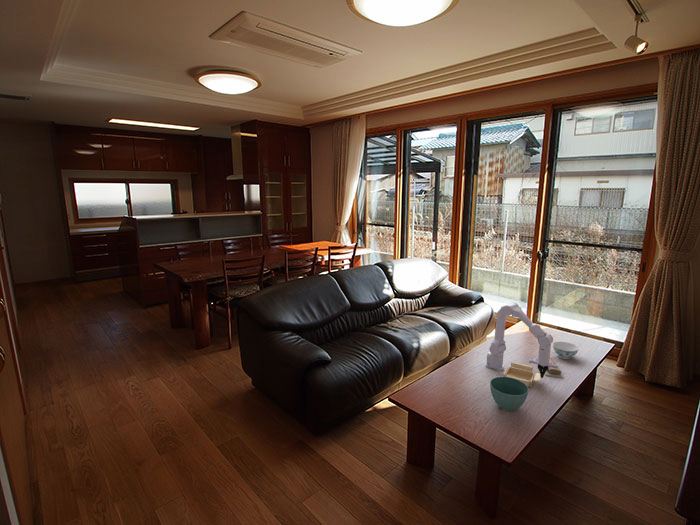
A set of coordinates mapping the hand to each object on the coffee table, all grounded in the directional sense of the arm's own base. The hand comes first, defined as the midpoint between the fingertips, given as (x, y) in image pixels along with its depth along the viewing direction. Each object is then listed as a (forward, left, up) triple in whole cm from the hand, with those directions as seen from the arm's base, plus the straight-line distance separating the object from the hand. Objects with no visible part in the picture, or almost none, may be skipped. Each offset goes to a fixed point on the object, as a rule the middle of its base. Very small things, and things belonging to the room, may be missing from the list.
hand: (542, 377), depth 210 cm
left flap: (-12, +7, -1) cm, 14 cm away
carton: (-12, 0, -5) cm, 13 cm away
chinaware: (+8, +48, -5) cm, 49 cm away
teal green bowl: (-12, -34, -5) cm, 36 cm away
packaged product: (+3, +23, -6) cm, 24 cm away
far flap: (-4, 0, -1) cm, 4 cm away
